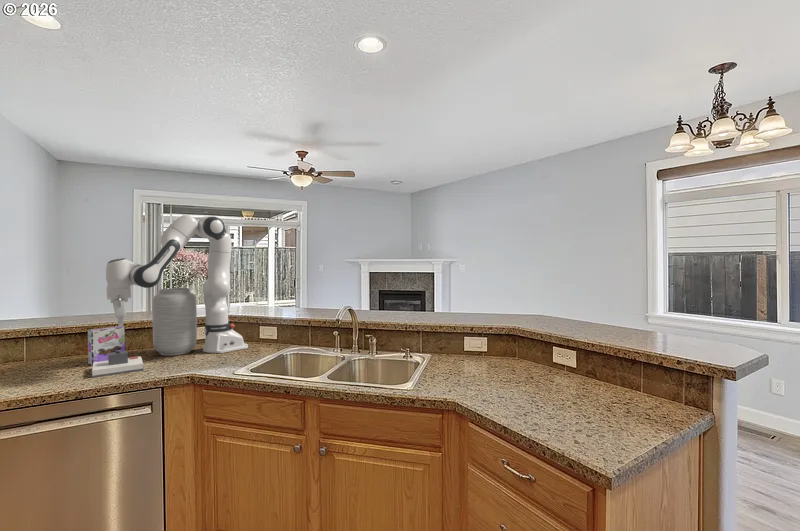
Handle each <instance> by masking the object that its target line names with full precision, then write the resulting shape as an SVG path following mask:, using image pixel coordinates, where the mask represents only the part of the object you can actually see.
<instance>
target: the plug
mask: <svg viewBox="0 0 800 531" xmlns="http://www.w3.org/2000/svg"><path fill="white" fill-rule="evenodd" d="M128 356H129V353H128V350H126V351H120V350H117V351H116V352H112V353H108V362H109V365H117V364H124V363H128V358H129V357H128Z"/></svg>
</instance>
